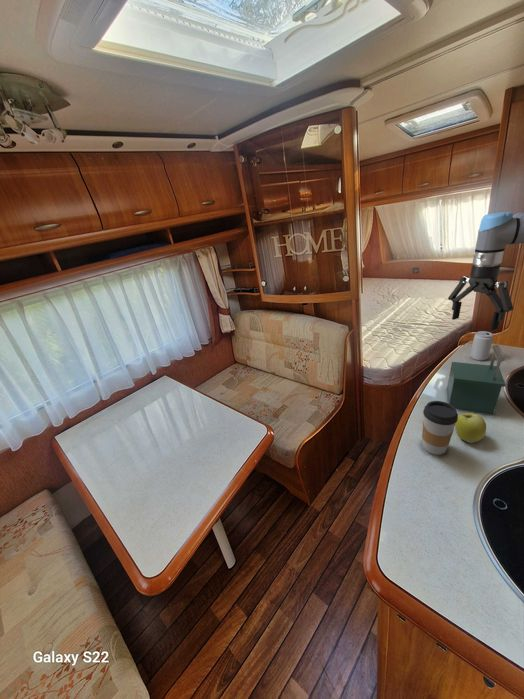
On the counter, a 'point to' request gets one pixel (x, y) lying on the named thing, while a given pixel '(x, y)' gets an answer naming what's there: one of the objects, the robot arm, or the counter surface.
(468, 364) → the bin lid
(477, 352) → the beverage can
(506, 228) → the robot arm
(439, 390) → the counter surface
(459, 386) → the waste bin
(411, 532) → the counter surface
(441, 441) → the coffee cup
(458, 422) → the apple
